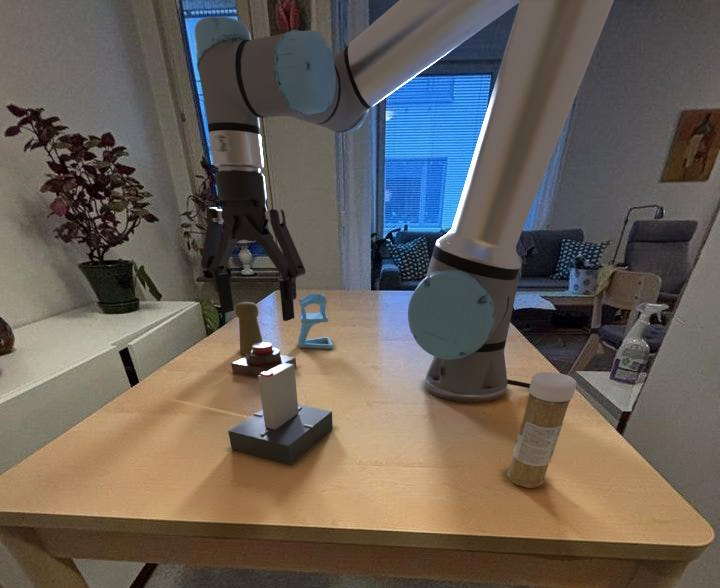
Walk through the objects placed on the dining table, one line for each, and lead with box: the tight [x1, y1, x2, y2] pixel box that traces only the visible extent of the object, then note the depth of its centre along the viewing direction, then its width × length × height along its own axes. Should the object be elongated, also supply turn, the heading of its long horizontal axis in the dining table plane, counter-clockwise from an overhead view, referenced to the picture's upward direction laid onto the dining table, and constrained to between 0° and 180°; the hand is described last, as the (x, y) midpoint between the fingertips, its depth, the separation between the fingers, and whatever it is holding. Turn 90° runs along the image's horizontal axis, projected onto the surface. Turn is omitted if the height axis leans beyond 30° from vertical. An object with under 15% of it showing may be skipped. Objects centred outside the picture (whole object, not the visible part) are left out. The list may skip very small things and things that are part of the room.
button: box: [252, 341, 273, 355], centre depth 82 cm, size 4×4×2 cm
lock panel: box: [227, 403, 334, 466], centre depth 58 cm, size 10×12×3 cm
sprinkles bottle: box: [507, 371, 578, 489], centre depth 47 cm, size 5×5×13 cm
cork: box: [234, 301, 264, 356], centre depth 93 cm, size 6×6×11 cm
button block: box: [230, 346, 297, 379], centre depth 83 cm, size 10×9×4 cm
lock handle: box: [257, 363, 299, 430], centre depth 55 cm, size 6×2×8 cm, turn 155°
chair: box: [297, 293, 334, 350], centre depth 97 cm, size 8×8×12 cm
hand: (257, 315), depth 73 cm, fingers open, 13 cm apart
